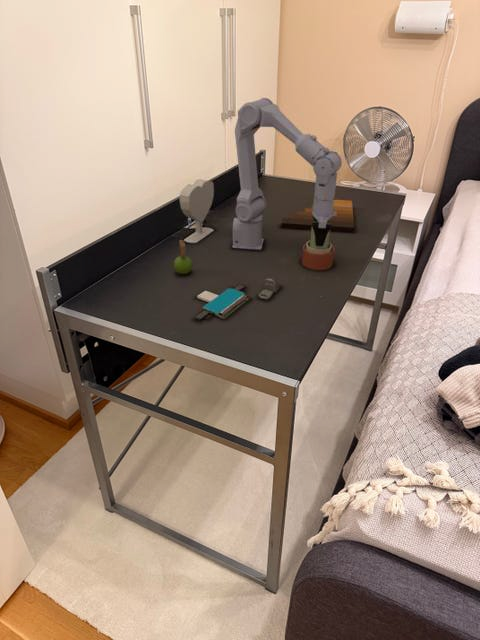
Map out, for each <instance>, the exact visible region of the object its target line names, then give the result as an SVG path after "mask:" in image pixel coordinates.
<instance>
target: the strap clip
mask: <svg viewBox="0 0 480 640" xmlns="http://www.w3.org/2000/svg"><path fill="white" fill-rule="evenodd" d="M264 288H265V289H262V291H260V292H259V294H258V298H259V299H262V300H266V301H267V300H269V299H271V297H273V296H274V295H273V294H274V293H276V292H277V291H279V290H280V288H281V285H280V284H277V283H276V281H275V280H274V279H273V278H269V277H268V278H265V280H264Z"/></svg>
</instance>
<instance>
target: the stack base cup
mask: <svg viewBox="0 0 480 640" xmlns="http://www.w3.org/2000/svg"><path fill="white" fill-rule="evenodd" d="M335 249H336V248H335V246H333V245H332V250H331V253H329V254H313V253H310V252H308V251H306V243H304V244H303V246H302V253H301V255H302V256H301V264H302V266H304V267H305V268H307V269H309V270H314V271H326V270H328V269H330V268H332V267H333V265H334V258H335V251H336V250H335Z"/></svg>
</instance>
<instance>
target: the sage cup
mask: <svg viewBox="0 0 480 640" xmlns="http://www.w3.org/2000/svg"><path fill="white" fill-rule="evenodd" d="M315 222H316V223H319V222H318V221H315ZM326 224H330V223H328V222H327V223H326ZM330 225H331V224H330ZM330 236H331V231H329V232H328V234H327V236H326V239H325V242H324V245H323V246H316V243H315V233H314V230H313V228H311V230H310V240H309V241H310V247H311V248H314V249H321V250H322V249H327V248H328V245H329V242H330Z"/></svg>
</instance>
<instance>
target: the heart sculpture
mask: <svg viewBox="0 0 480 640" xmlns="http://www.w3.org/2000/svg"><path fill="white" fill-rule="evenodd" d="M214 185H215V184H214V182H213V181H212V180H206V179H196V180H195V181H194V182H193V183H192V184H189V183H188V184H187V185H185V186H184V187H183V188H182V189H181V191H180V193H179V205H180V209H181V211H182V213H183V215H185V216H186V217H187V218H189V219H192V220H193V221H194V223H195V224H194V227H195V231H194V232H193V233H192V234H190V235H189V236H187V237H186V238H184V239H183V241H184V240H185V242H186V243H190V244H196V243H198V242H199V241H201V240H203V239H204V238H206V237H207V236H208V235H210V234H211V233H212V232H214V231H215V229H213V228H211V227H203V222H204V221H205V219H206V217H207V215H208V213H209V211H210V209H211V207H212V203H213V200H214V197H215V196H214V194H215V188H214Z"/></svg>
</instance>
